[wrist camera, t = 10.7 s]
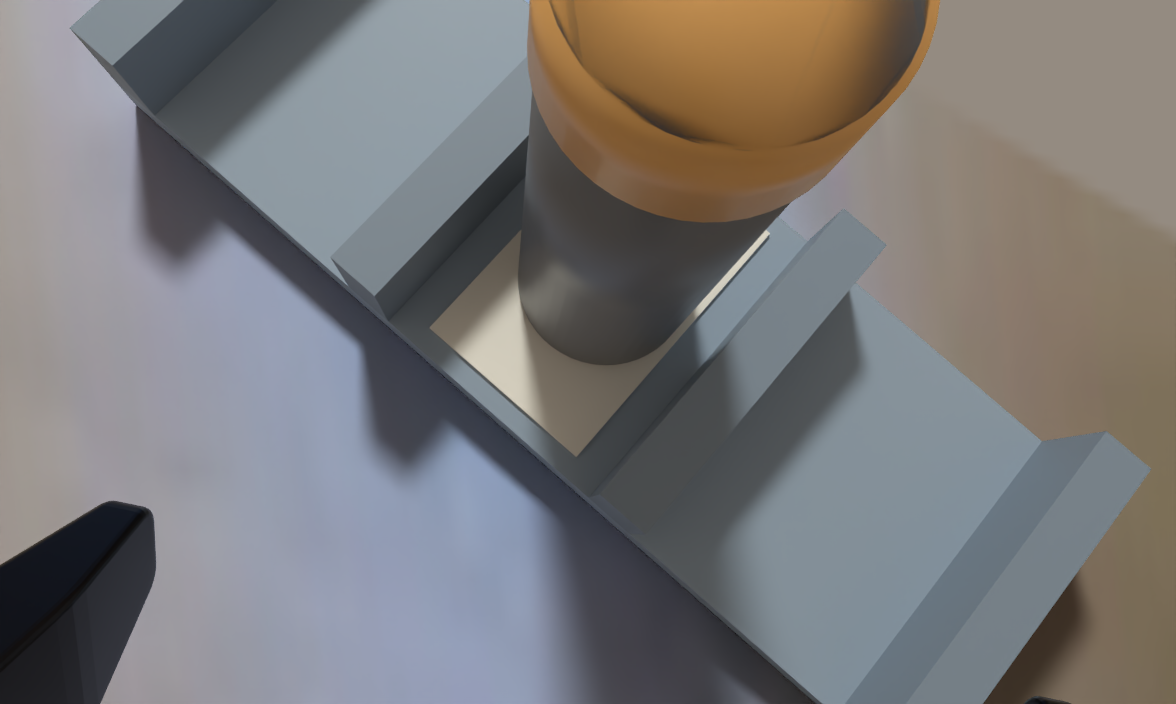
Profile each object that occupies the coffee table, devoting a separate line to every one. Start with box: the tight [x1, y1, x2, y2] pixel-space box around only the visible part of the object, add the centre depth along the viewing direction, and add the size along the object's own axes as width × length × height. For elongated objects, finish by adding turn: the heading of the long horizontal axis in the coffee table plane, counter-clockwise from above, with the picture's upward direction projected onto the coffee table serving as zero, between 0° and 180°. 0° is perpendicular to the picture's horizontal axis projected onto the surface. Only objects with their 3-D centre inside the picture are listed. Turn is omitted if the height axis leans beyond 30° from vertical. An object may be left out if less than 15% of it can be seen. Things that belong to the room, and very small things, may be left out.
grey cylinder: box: [518, 0, 940, 365], centre depth 16 cm, size 4×4×13 cm
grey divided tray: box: [70, 0, 1151, 704], centre depth 22 cm, size 8×23×4 cm, turn 49°
